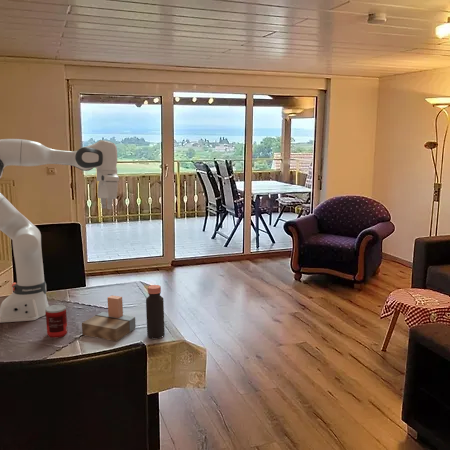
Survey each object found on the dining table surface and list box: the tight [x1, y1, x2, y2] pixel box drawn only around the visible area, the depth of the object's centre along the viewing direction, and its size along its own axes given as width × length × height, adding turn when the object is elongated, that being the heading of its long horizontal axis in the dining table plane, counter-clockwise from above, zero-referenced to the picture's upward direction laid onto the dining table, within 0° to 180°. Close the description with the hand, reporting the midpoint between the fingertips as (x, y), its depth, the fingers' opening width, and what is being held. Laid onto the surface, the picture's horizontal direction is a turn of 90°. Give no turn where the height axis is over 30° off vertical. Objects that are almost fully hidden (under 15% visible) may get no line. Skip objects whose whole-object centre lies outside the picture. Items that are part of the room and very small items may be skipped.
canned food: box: [45, 304, 68, 339], centre depth 189 cm, size 8×8×11 cm
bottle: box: [145, 284, 166, 339], centre depth 187 cm, size 7×7×20 cm
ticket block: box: [81, 314, 131, 342], centre depth 190 cm, size 16×9×5 cm, turn 67°
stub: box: [96, 295, 137, 333], centre depth 195 cm, size 16×4×13 cm, turn 67°
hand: (106, 208), depth 213 cm, fingers open, 8 cm apart
